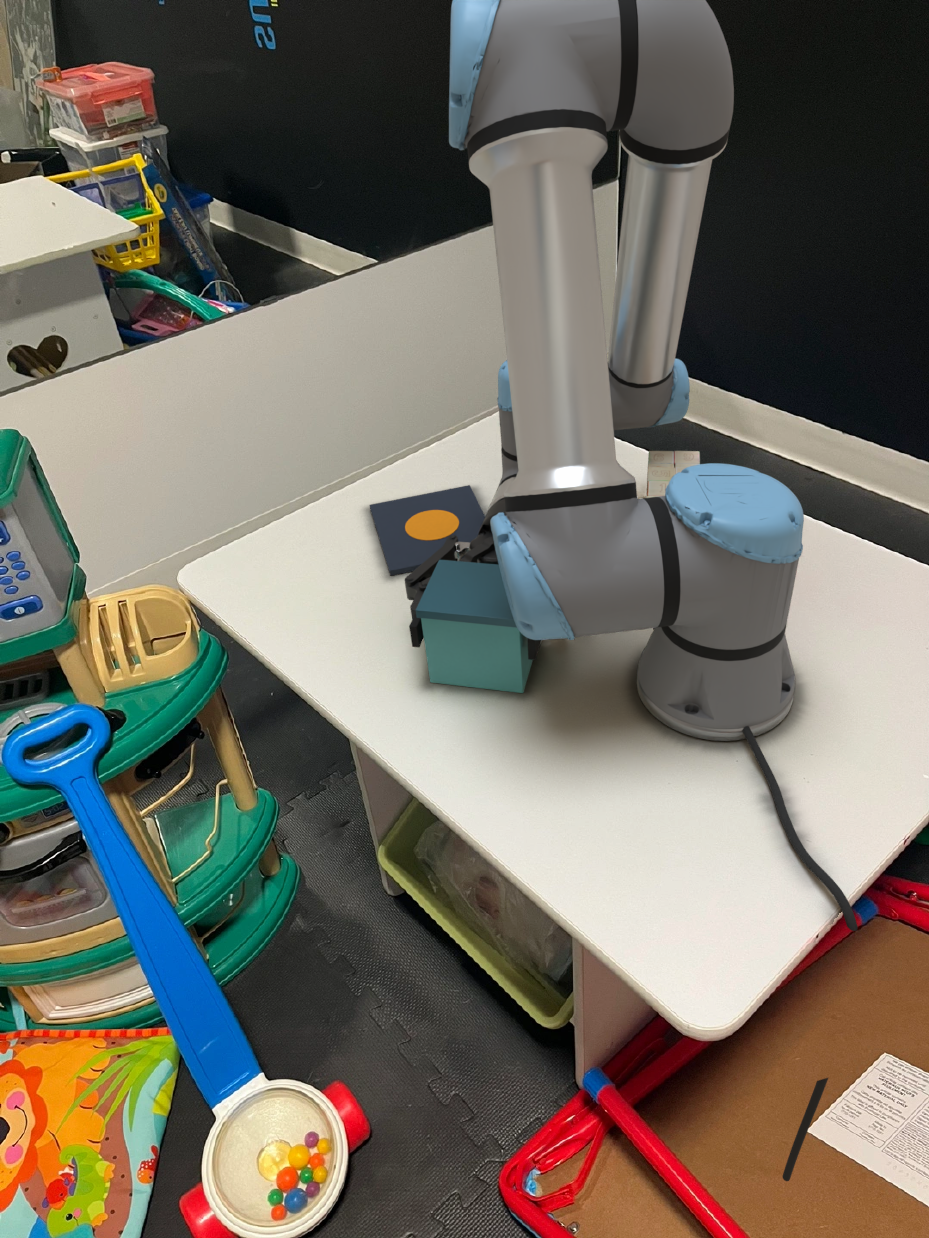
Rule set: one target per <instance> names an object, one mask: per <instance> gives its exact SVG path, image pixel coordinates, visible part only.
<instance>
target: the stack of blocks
mask: <svg viewBox="0 0 929 1238" xmlns="http://www.w3.org/2000/svg"><path fill="white" fill-rule="evenodd" d="M647 457H648V458H647V474H646V495H645V496H646V497H645V498H650V497H659V496H665V489H666V488H667V485H668V484H669V482H670V480H671V478H672V477H673V476H674V475H675V474H677V473H678V472H681V471H682V470H683V469H685V468H687V467H690V466H694V465H699V464H701V453H700V451H698V450H697V451H696V450H693V451H692V450H674V451H673V450H649V451H648V456H647Z"/></svg>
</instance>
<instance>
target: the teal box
mask: <svg viewBox="0 0 929 1238" xmlns="http://www.w3.org/2000/svg"><path fill="white" fill-rule="evenodd" d="M416 616H417V618H421V622H422V629H423V636H424V638H423V642H424V648H425V649H424V650H425V657H426V663H427V669H428V676H429V683H433V684H440V685H441V684H442V685H451V686H457V687H458V686H459V687H465V688H466V687H467V688H473V689H474V688H475V689H484V690H490V691H491V690H492V691H493V690H494V691H501V692H508V693H509V692H510V693H516V694H517V693H519V694H524V692H525V688H526V684H527V681H528V679H529V675H530V671H531V667H532V664H533V661H534V660H530V659H528V644H527V637H525V636H524V635H523V634H522V633H521V632H520V631H519V630H518V628H517V626H516V624H515V621H514V618H513V615H512V612H511V609H510V605H509V602H508V598H507V595H506V591H505V587H504V583H503V579H502V576H501V571H500V567H499V565H498V564H486V563H474V562H462V561H449V560H439V561H438V563H437V565H436V567H435V570H434V572H433V574H432V576H431V578H430V580H429V583H428V585H427V587H426V589H425V591H424V593H423V595H422V598H421V600H420V602H419V604H418V606H417V608H416Z"/></svg>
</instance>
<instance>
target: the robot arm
mask: <svg viewBox="0 0 929 1238" xmlns="http://www.w3.org/2000/svg"><path fill="white" fill-rule="evenodd" d="M718 21H719V20H718V19H717V17H716V15H715V13H714V11H713V9H712V8H711V6H710V5H709V3H708V2H707V0H452V1H451V7H450V33H449V34H450V36H449V38H450V39H449V43H450V44H449V89H448V90H449V93H448V94H449V95H448V143H449V146H450V147H452V148H454V149H458V150H459V151H465V150H467V151H466V152H467V158H468V159H467V161H468V169H469V171H470V172H471V174H472V175H473V176H475V178H477V179H478V180H479V181H481V182H482V183H483V184H484V185H485V186H487V188H488V190H489V197H490V206H491V207H490V209H491V216H492V218H491V219H492V226H493V236H494V247H495V256H496V257H495V258H496V264H497V265H496V266H497V275H498V276H497V277H498V285H499V295H500V304H501V305H500V306H501V314H502V324H503V333H504V345H505V353H506V354H505V355H506V360H505V361H504V362H503V363H501V365H500V367H499V369H498V372H497V399H496V400H497V408H498V418H499V419H498V420H499V431H500V443H501V445H500V446H501V448H500V452H501V453H500V454H501V468H502V472H501V473H502V474H501V477H500V478H501V479H500V481H499V483H498V486H497V489H496V490H495V493H494V496H493V498H492V499H491V502H490V504H489V506H488V509H487V511H486V514H485V518H484V521H483V523H482V525H481V528H480V531H479V534H478V536H477V537H476V538H475V539H474V540H472V541H471V543H469V542H458V537H457V536H456V535H450V536H448V538H447V539H446V541H445V543H444V545H443V547H441V548H440V549H439V550H438V551H437V552H435V553H434V554H433V555H432V556H431V557H430V558H428V559H427V560H426V561H425V562H424V563H422V564H421V565H420V566H419V567H418V568H417V569H415V570H414V571H411V572H410V573H408V575H407V576H406V577H405V578H404V587H405V592H406V598H407V600H409V601H412V602H411V604H410V607H409V608H410V614H411V622H410V624H409V626H408V627H409V634H410V641H411V647H412V648H420V647H421V645H422V642H423V641H424V636H423V629H422V622H421V618H417V616H416V608H417V606H418V604H419V602H420V600H421V598H422V595H423V593H424V591H425V589H426V587H427V585H428V583H429V580H430V578H431V576H432V574H433V572H434V570H435V567H436V565H437V563H438V561H439V560H449V561H462V562H474V563H486V564H498V565H499V567H500V571H501V576H502V579H503V583H504V587H505V591H506V595H507V598H508V602H509V605H510V609H511V612H512V615H513V618H514V621H515V624H516V626H517V628H518V630H519V631H520V632H521V633H522V634H523V635H524V636H525V637H527V644H528V659H530V660H533V661H537V658H538V654H539V650H540V647H541V644H542V641H543V640H559V639H560V640H563V639H567V640H568V641H573V640H575V639H576V638H581V637H588V636H589V637H590V636H597V635H604V634H605V635H606V634H615V633H622V632H632V631H638V630H640V631H641V630H648V629H652V632H651V635H650V637H649V639H648V641H647V643H646V644H645V647H644V648H643V650H642V652H641V654H640V656H639V660H638V663H637V670H636V688H637V694H638V696H639V699H640V701H641V702H642V704H643V706H645V708H646V709H647V710H648V711H649V713H650V714H651V715H652V716H653V717H654V718H656V719H657V720H658V721H659V722H661V723H662V724H664V725H665V726H667V727H669V728H670V729H672V730H674V731H676V732H679V733H681V734H684V735H687V736H690V737H693V738H696V739H697V738H698V739H702V740H708V741H709V740H710V741H720V742H721V741H722V742H724V741H725V742H729V741H731V742H732V741H740V740H746V742H747V744H748V746H749V747H750V750H751V751H752V753H753V756H754V758H755V759H756V762H757V763H758V766H759V767H760V769H761V771H762V773H763V775H764V777H765V780H766V782H767V784H768V787H769V789H770V792H771V795H772V798H773V801H774V805H775V808H776V811H777V814H778V817H779V819H780V821H781V824H782V826H783V829H784V832H785V834H786V836H787V839H788V840H789V842H790V844H791V845H792V847H793V849H794V851H795V853H796V855H798V857H799V859H800V860H801V861H802V863H803V864H804V865H805V866H806V867H807V869H808V870H809V871H810V872H811V873H812V874H813V875H814V876H815V877H816V878H817V879H818V880H819V881H820V882H821V884H823V885H824V886H825V888H827V889H828V891H829V892H830V893H831V895H832V896H833V898H834V899H835V900H836V902H837V904H838V907H839V908H840V910H841V913H842V916H843V918H844V921H845V924H846V927H847V929H849V930H850V931H852V932H857V931H858V928H859V927H858V923H857V919H856V916H855V914H854V911H853V909H852V906H851V903H850V901H849V900H848V899H847V897H846V895H845V893H844V892H843V890H842V889H841V888H840V886H839V885H838V883H836V881H835V880H834V879H833V878H832V877H831V875H829V874H828V873H827V872H826V871H825V870H824V869H823V868H822V867H821V866H820V865H819V864H818V863H817V862H816V860H814V858H813V857H812V856H811V855H810V854H809V852H808V851H807V850H806V848H805V847H804V844H803V843H802V842H801V839H800V838H799V836H798V833H797V832H796V829H795V827H794V825H793V822H792V820H791V818H790V815H789V813H788V810H787V807H786V803H785V801H784V797H783V794H782V791H781V787H780V786H779V783H778V781H777V779H776V777H775V775H774V772H773V771H772V768H771V767H770V765H769V763H768V760H766V757H765V755H764V753H763V751H762V749H761V747H760V745H759V743H758V741H757V739H756V737H757V736H759V735H763V734H765V733H767V732H769V731H771V730H772V729H774V728H775V727H776V726H778V725H779V724H780V723H782V722H783V720H785V718H786V717H787V715H788V714H789V712H790V711H791V708H792V706H793V701H794V697H795V692H796V673H795V669H794V665H793V661H792V657H791V652H790V648H789V645H788V641H787V636H786V629H787V626H788V625H787V624H788V619H789V614H790V610H791V609H790V608H791V603H792V598H793V592H794V587H795V582H796V577H797V571H798V567H799V561H800V557H801V556H802V554H803V550H804V545H803V531H804V523H805V522H804V521H805V516H804V510H803V507H802V504H801V502H800V500H799V498H798V497H797V496H796V494H794V492H793V491H792V490H791V489H790V488H789V487H788V486H786V485H785V484H784V483H783V482H781V481H779V480H778V479H776V478H774V477H772V476H771V475H768V474H765V473H763V472H760V471H759V470H757V469H754V468H750V467H746V466H742V465H737V464H729V463H717V462H716V463H715V462H713V463H700V464H699V465H694V466H690V467H687V468H685V469H683V470H682V471H681V472H678V473H677V474H675V475H674V476H673V477H672V478H671V480H670V482H669V484H668V485H667V488H666V489H665V496H659V497H650V498H646V497H641V498H638V491H637V490H638V489H637V481H636V477H635V476H634V475H632V474H631V473H630V472H629V471H628V470H626V468H624V467H623V466H622V465H621V464H620V463H619V462H618V459H617V452H616V442H615V441H616V439H615V431H620V430H632V429H641V428H647V429H649V428H655V427H657V426H662V425H668V424H673V423H678V422H680V421H681V420H683V419H684V417H685V416H686V415H687V413H688V410H689V406H690V392H691V385H690V377H689V372H688V370H687V366H686V364H685V363H684V361H682V360H681V359H680V358H676V356H677V350H678V345H679V339H680V335H681V328H682V323H683V318H684V313H685V308H686V304H687V303H686V301H687V298H688V292H689V286H690V281H691V275H692V271H693V265H694V259H695V254H696V248H697V243H698V238H699V233H700V227H701V222H702V216H703V212H704V206H705V200H706V195H707V189H708V184H709V180H710V175H711V174H710V173H711V168H712V164H713V160H714V159H716V158H717V157H718V156H719V155H720V154H721V153H722V152H723V151H724V150H725V148H726V146H727V144H728V140H729V134H730V130H731V125H732V119H733V114H734V103H735V101H734V100H735V88H734V87H735V86H734V74H733V73H734V72H733V65H732V60H731V55H730V52H729V48H728V45H727V41H726V39H725V36H724V33H723V31H722V28H721V26H720V23H719V22H718ZM611 131H612V132H614V131H619V133H618V134H619V135H618V136H619V137H618V139H619V144H620V145H621V147H622V148H623V150H624V151H625V152H626V153H627V154H628V157H627V167H626V176H625V185H624V197H623V208H622V215H621V224H620V225H621V226H620V236H619V243H618V244H619V245H618V254H617V263H616V264H617V265H616V273H615V274H616V275H615V283H614V294H613V302H612V303H613V304H612V314H611V322H610V323H611V324H610V333H609V341H608V350H607V339H606V328H605V318H604V317H605V316H604V315H605V313H604V305H603V304H604V303H603V294H602V292H603V291H602V283H601V282H602V280H601V269H600V257H599V247H598V235H597V224H596V214H595V201H594V190H593V188H594V187H593V179H592V177H593V171H594V169H595V168H596V167H597V165H598V164H599V163H600V161H601V160H602V158H603V157H604V156H605V154H606V153H607V151H608V147H609V144H608V133H607V132H611ZM464 555H465V556H464ZM463 556H464V558H462V557H463ZM461 558H462V559H461ZM828 1081H829V1077H825V1078H821V1079H818V1080H816V1083H815V1084H814V1088H813V1091H812V1093H811V1096H810V1097H809V1098H810V1099H809V1101H808V1103H807V1106H806V1109H805V1112H804V1113H803V1117H802V1119H801V1122H800V1125H799V1127H798V1129H797V1133H796V1135H795V1138H794V1141H793V1143H792V1146H791V1148H790V1152H789V1155H788V1157H787V1160H786V1162H785V1163H786V1164H785V1166H784V1170H783V1172H782V1179H783V1181H785V1182H790V1180H791V1177H792V1174H793V1171H794V1169H795V1165H796V1163H797V1160H798V1157H799V1155H800V1152H801V1149H802V1146H803V1144H804V1141H805V1139H806V1136H807V1133H808V1131H809V1128H810V1126H811V1124H812V1121H813V1118H814V1115H815V1114H816V1111H817V1108H818V1107H819V1104H820V1102H821V1099H822V1096H823V1093H824V1091H825V1089H826V1086H827V1083H828Z"/></svg>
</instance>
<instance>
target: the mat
mask: <svg viewBox="0 0 929 1238" xmlns="http://www.w3.org/2000/svg"><path fill="white" fill-rule="evenodd" d="M369 510H370V515H371V517H372V520H373V523H374V527H375V531H376V533H377V536H378V540H379V543H380V547H381V550H382V553H383V556H384V559H385V562H386V567H387V570H388V572H389V576H391V577H392V576H397V575H402V574H406V573H412V572H413V571H414V570H415V569H417V568H418V567H419V566H420V565H421V564H422V563H424V562H425V561H426V560H427V559H428V558H430V557H431V556H432V555H433V554H434V553H435V552H437V551H438V550H439V549H440V548H441V547H443V545H444V543H445V541H446V539H447V538H448V536H450V535H456V536H457V537H458V542H469V543H471V541H472V540H474V539H475V538H476V537H477V536H478V534H479V531H480V528H481V525H482V523H483V521H484V518H485V516H486V514H485V513H484V511H483V509H482V507H481V505H480V503H479V501H478V499H477V497H476V495H475V492H474V490H473V489H472V486H471V485H470V484H467V485H463V486H458V487H457V486H456V487H453V488H452V487H451V488H447V489H443V490H438V491H433V492H428V493H423V494H417V495H412V496H406V497H403V498H396V499H393V500H392V499H391V500H386V501H382V502H376V503H372V504H369ZM464 556H465V555H464ZM464 556H463V557H462V558H464ZM462 558H461V559H462Z"/></svg>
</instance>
